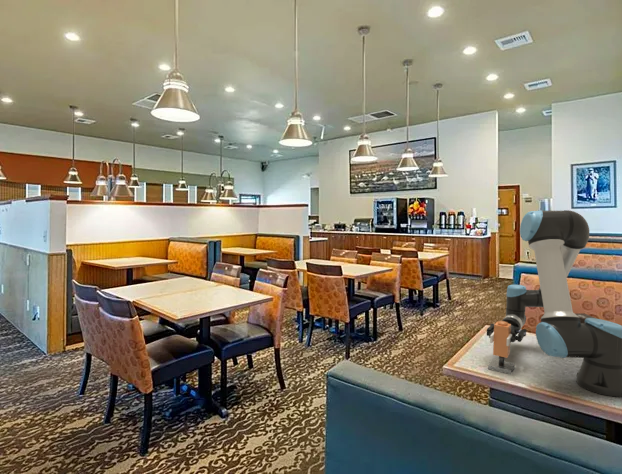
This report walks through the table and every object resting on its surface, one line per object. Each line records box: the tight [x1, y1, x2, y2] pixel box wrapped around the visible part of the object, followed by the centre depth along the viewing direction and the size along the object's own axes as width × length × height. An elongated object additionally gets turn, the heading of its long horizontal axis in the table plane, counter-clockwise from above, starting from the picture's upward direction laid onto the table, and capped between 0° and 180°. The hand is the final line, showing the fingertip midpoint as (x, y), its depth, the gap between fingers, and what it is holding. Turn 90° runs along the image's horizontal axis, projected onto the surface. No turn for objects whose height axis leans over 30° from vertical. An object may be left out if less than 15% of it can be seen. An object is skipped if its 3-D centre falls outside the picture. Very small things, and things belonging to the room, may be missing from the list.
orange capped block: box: [492, 320, 511, 359], centre depth 147 cm, size 5×5×13 cm
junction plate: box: [487, 356, 516, 375], centre depth 148 cm, size 8×8×7 cm
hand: (499, 340), depth 143 cm, fingers closed on orange capped block, 5 cm apart
